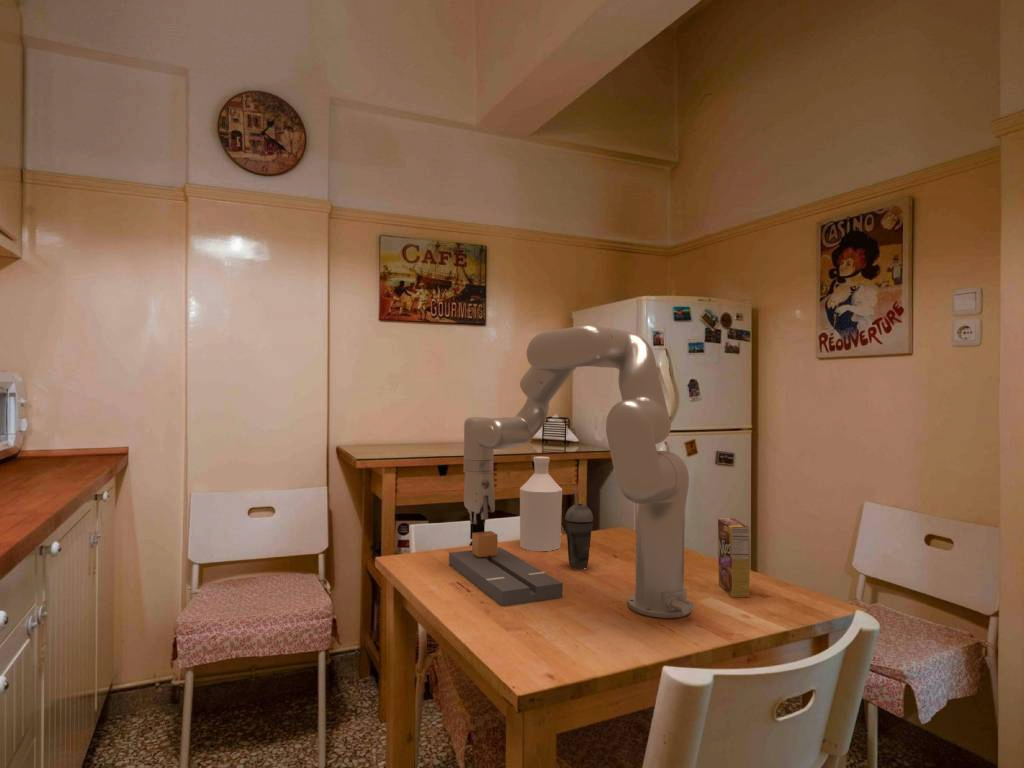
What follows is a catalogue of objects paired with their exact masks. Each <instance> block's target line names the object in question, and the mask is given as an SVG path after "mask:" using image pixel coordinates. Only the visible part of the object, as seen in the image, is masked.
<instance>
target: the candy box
mask: <svg viewBox="0 0 1024 768" xmlns="http://www.w3.org/2000/svg"><path fill="white" fill-rule="evenodd" d="M717 541H718V542H717V544H718V545H717V546H718V547H717V551H718V552H717V555H718V558H717V559H718V561H717V562H718V569H717V570H718V586H720V588H722V589H723V590H724V591H725V592H726V593H727V594H728V595H729V596H730V597H731V598H739V599H741V598H742V599H743V598H744V599H745V598H747V599H748V598H750V595H751V594H750V592H751V591H750V590H751V589H750V584H751V583H750V577H751V576H750V569H751V568H750V527H749V526H748V525H746V524H744V523H742V522H740V521H739V520H738V519H736V518H733V517H730V518H729V517H722V518H721V517H720V518H719V517H718V518H717Z"/></svg>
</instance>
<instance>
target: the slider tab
mask: <svg viewBox="0 0 1024 768" xmlns="http://www.w3.org/2000/svg"><path fill="white" fill-rule="evenodd" d="M497 548H498V534H497V533H495V532H493V531H492V530H488V531H485V532H475V533H472V539H471V550H472V553H473V554H474V555H476V556H477V557H484V558H485V559H487V560H488V561H489V556H494V555H497Z"/></svg>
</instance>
